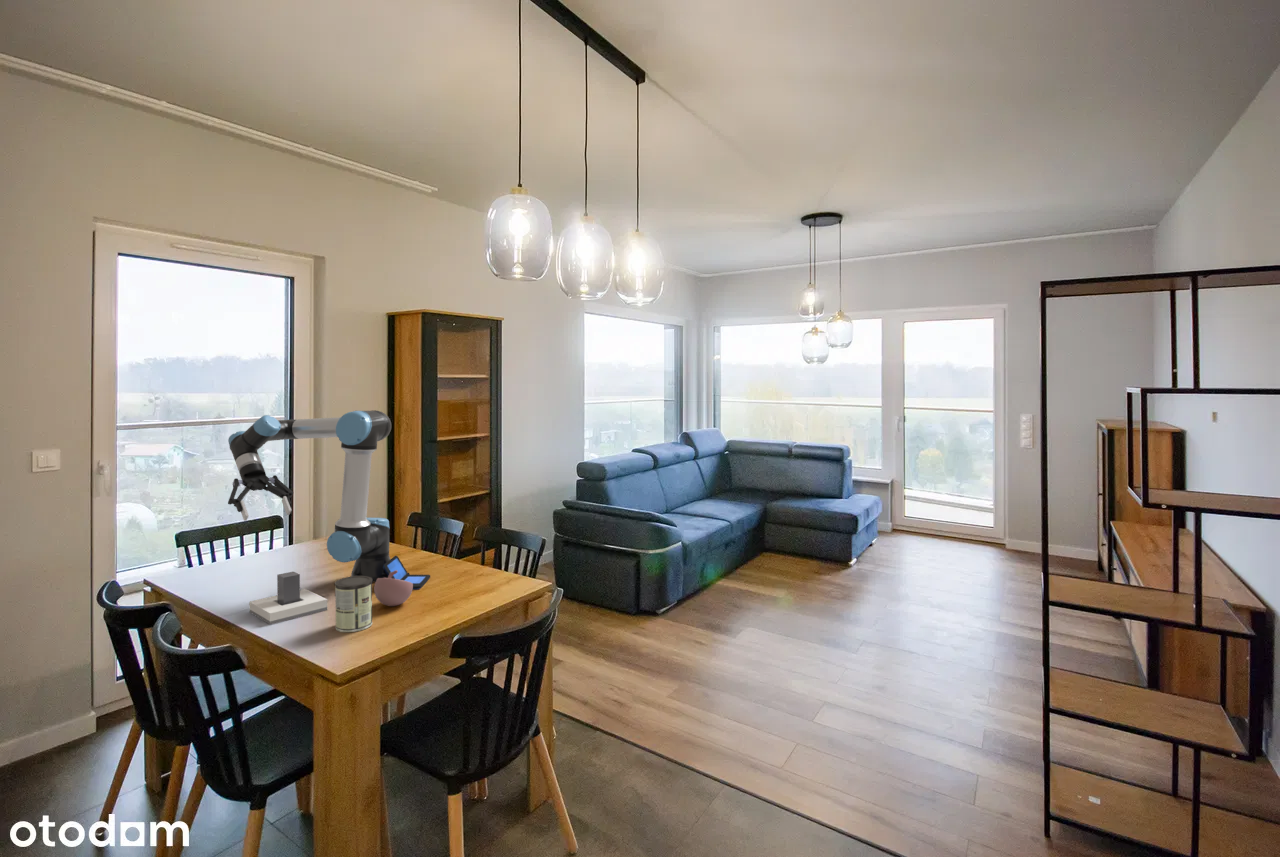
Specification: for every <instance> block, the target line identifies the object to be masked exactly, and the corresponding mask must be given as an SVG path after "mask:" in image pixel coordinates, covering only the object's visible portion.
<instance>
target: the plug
mask: <svg viewBox="0 0 1280 857" xmlns="http://www.w3.org/2000/svg"><path fill="white" fill-rule="evenodd" d="M300 579H301V575H300V573H297V572H295V571H290V572H284V573H280V574H277V578H276V580H277V581H276V583H277V585H276V586H277V595H278V604H280V605H287V604H291V603H295V602H299V601H300V590H301V583H300V582H301V580H300Z"/></svg>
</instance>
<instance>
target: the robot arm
mask: <svg viewBox="0 0 1280 857" xmlns="http://www.w3.org/2000/svg"><path fill="white" fill-rule="evenodd" d="M391 430H392V422H391V419H390V418H389V416H388V415H387V413H384V412H383V411H379V410H353V411H349V412H347V413H344V414H342V416H340V417H339V416H338V417H320V418H319V417H318V418H302V419H301V418H299V419H282V420H281V419H280V420H278V419H277V418H276V417H275V416H271V415H269V414H265V415H262V416H260V418H258V419H256V420H255V422H254V423H253V424H251V426H250V427H249V428H247V429H246V430H245V431H244V430H240V431H236V433H232V434H230V436H229V437H228V439H227V440H228V445H229V450H230V451H231V454H232V456H233V459H234V461H235V465H236V467H237V471H238V473H239V476H240V479H238V478H234V479H233V482H232V490H231V493H230V496H229V498H228V502H227V504H228V505H233V507H235V508H236V511H237V512H238V513H241V516H242V519H243V521H244V522H245V521H248V519H249V513H248V509H247V507H246V504H245V501H244V500H243V499H244V498H245V497H246V496H247V494H248V493H249V492H250V491H252V492H253V491H254V492H255V491H263V490H264V491H266V492H269V493H271V494H273V495H275V496H276V497H278V498H280V499H281V503H282V506H283V508H284V511H285V513H286V516H289V515H290V514H291V513H292V511H293V510H292V507H291V505H292V501H291V498H292V496H293V495H294V491H293V490H292V489H291V488H289V487H288V486H287V485H286V484H284V482H282V481H281V480H280V479H279V478H278V475H273V476H271V477H270V476H269V477H268V476H267V473H266V470H265V468H264V466H263V463H262V461H261V460H262V459H261V458H260V455H259V452H258V451H259V449H261V448H262V447H263V446H265V444H267V442H270V441H271V442H273V441H281V440H284V441H285V440H299V439H300V440H301V439H325V438H327V439H328V438H338V441H339V442H341V445H340V448H341V449H342V451H344V452H345V453H344V467H343V480H342V490H341V492H342V493H341V505H340V517H339V519H338V520H336V521H335V523H334V532H332V533H331V534H330V535H329V537H328V538H327V540H326V549H327V552H328V554H329V555H330V556H331V557H332V559H334V560H335V561H336V562H339V563H350V562H354V565H353V568H352V569H351V570H352V571H351V575H350V577H352V576H368V577H371V578H372V583H376V580H377V579H378V578H388V574H387V573H386V571H385V569H384V567H383V565H384V564H385V563H387V562H388V561H389V560H390V559H391V557H390V521H389V519H387V518H385V517H367V516H368V504H369V503H368V502H369V490H370V478H371V468H372V466H371V465H372V456H373V453H374V452H375V451H377V448H378V442H381V441H383V440H384V439H386V438H387V437H388V436H389V435H390V432H391ZM241 485H242V486H244V489H243V490H242V491H241V492H240V494H239V495H238V496H237V498H235V496H236V494H237V492H238V488H239V487H240V486H241Z"/></svg>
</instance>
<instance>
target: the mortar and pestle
mask: <svg viewBox="0 0 1280 857" xmlns="http://www.w3.org/2000/svg"><path fill="white" fill-rule="evenodd" d="M397 572H398V571H397V570H395V571H393V572H390V574H389V576H388V578H378V579H377V580H376V582H374V587H373V588H374V590H373V591H374V595H375V598H376V599H377V600H378V602H380V603H381V604H382V605H384V606H388V607H396V606H399V605H402V604H403V603H405V602H406V601H407V600H409V598H410V597H411V594H412V592H413V590H414V589H413V583H411V582H408V581H404V580H399V579H392V576H393V575H394V574H396V573H397Z"/></svg>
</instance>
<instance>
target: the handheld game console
mask: <svg viewBox="0 0 1280 857" xmlns="http://www.w3.org/2000/svg"><path fill="white" fill-rule="evenodd" d="M383 567H384V569H385V571H386V573H387V574H388V576H389V574H390V572H393V571H395V570H397V571H398V572H397V573H396V574H394V575H393V576H392V579H399V580H404V581H408V582H411V583H413V589H412V590H420V589H421V588H422V587H423V586H424V585H425V584H426V583H427V582H428V580H430V579H431V574H410V572H408V570H407V569H406V568H405V566H404V564H403V562H402V561H401V560H400V558H399V556H398V555H394V556H393V557H392V558H390V560H389V561H388V562H387V563H385V564H384V565H383Z"/></svg>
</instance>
